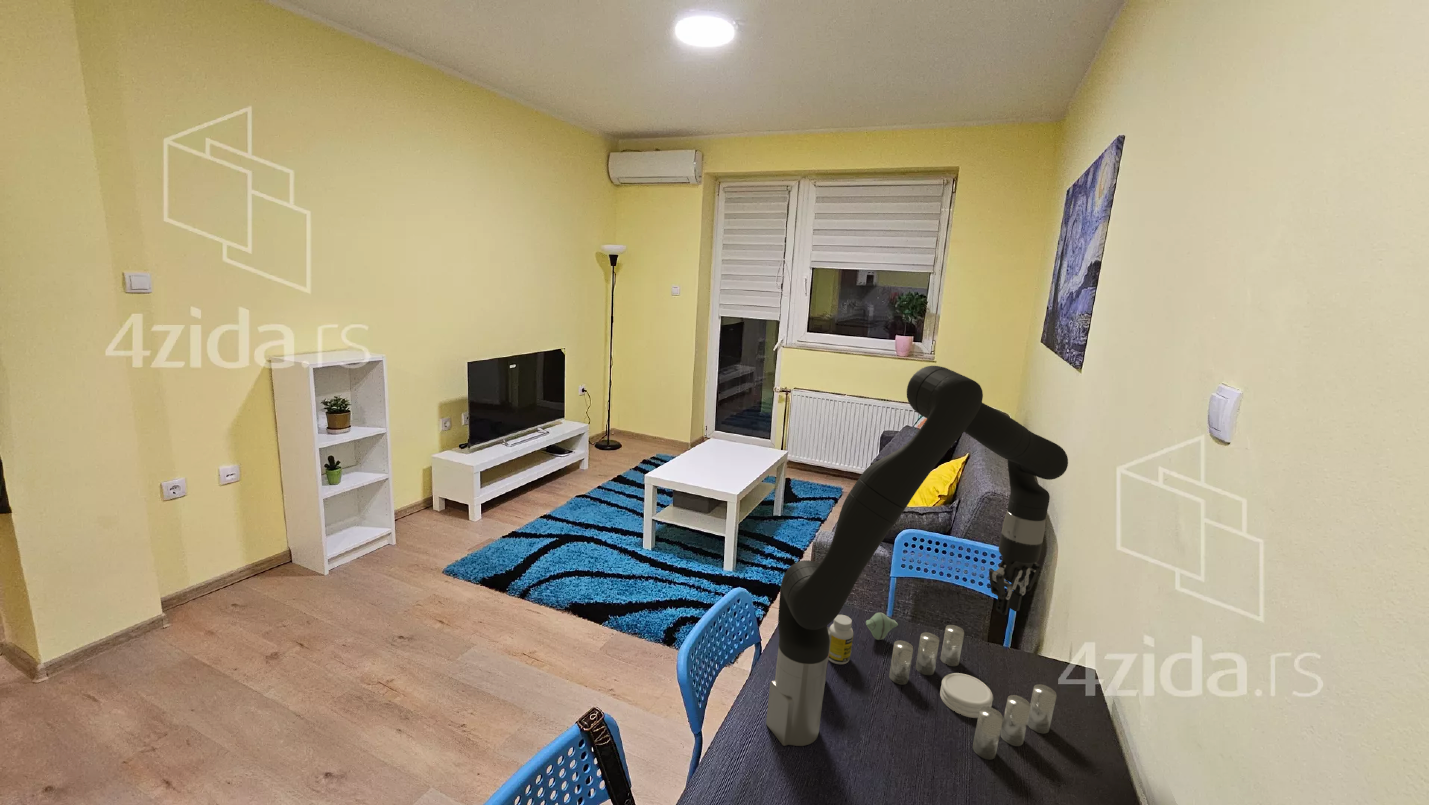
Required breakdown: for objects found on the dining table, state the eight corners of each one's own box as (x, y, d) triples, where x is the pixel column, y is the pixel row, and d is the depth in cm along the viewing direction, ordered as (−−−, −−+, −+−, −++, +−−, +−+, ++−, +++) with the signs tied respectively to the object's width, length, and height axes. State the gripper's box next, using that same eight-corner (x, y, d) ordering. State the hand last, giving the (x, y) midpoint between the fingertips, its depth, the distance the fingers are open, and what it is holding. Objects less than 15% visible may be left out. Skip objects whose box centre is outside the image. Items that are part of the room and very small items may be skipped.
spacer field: (985, 762, 109) (993, 724, 107) (885, 675, 132) (890, 642, 130) (1053, 730, 119) (1061, 695, 117) (948, 653, 141) (953, 623, 139)
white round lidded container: (994, 699, 127) (996, 684, 126) (986, 727, 118) (989, 711, 118) (945, 679, 132) (947, 665, 131) (934, 705, 124) (937, 690, 123)
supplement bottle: (844, 668, 133) (850, 629, 131) (822, 659, 136) (826, 620, 133) (853, 656, 137) (858, 618, 135) (830, 647, 140) (835, 609, 138)
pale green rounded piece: (865, 644, 142) (868, 619, 141) (859, 634, 146) (862, 609, 145) (896, 643, 143) (900, 618, 142) (889, 633, 147) (893, 609, 146)
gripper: (1016, 548, 115) (1000, 628, 118) (1061, 537, 121) (1045, 613, 125) (983, 532, 121) (969, 608, 125) (1027, 523, 128) (1013, 595, 131)
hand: (1007, 610), depth 125 cm, fingers open, 3 cm apart
